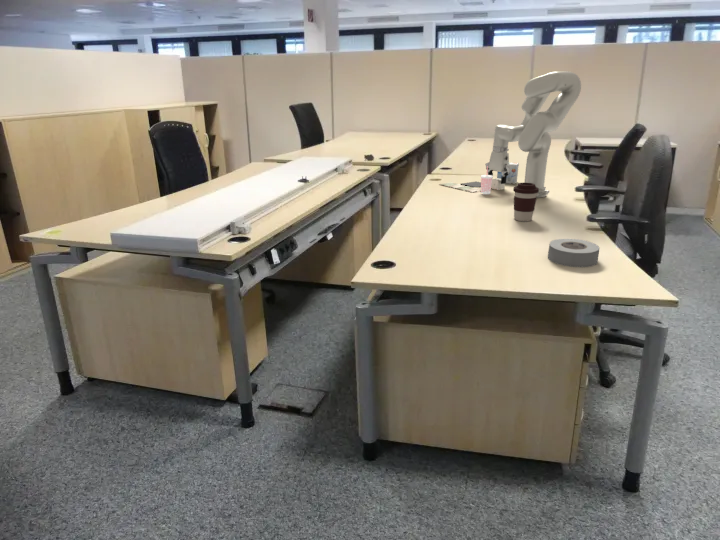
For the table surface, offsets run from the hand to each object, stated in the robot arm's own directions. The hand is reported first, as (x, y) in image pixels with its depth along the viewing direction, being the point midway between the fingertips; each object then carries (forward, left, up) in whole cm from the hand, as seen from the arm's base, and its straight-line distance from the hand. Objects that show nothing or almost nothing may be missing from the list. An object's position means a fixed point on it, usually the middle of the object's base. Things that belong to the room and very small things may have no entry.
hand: (496, 181), depth 284 cm
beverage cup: (-6, +14, -4) cm, 16 cm away
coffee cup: (-53, +40, -4) cm, 67 cm away
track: (+12, +14, -3) cm, 19 cm away
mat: (+13, +2, -3) cm, 13 cm away
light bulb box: (+9, -18, -4) cm, 20 cm away
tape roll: (-97, +67, -4) cm, 118 cm away
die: (-1, 0, -4) cm, 4 cm away
